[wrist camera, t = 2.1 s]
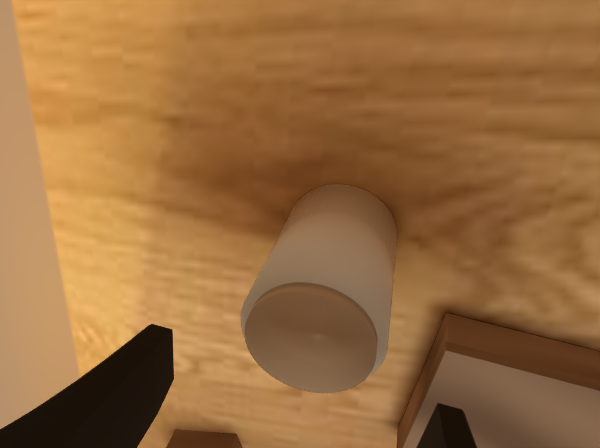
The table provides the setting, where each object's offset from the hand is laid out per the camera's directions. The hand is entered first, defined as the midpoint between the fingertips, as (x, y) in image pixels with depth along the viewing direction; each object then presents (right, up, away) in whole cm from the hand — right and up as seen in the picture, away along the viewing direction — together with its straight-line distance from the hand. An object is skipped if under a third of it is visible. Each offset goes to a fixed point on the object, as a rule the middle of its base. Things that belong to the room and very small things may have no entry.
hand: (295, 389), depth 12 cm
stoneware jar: (+2, +4, +7) cm, 8 cm away
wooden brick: (+12, -4, +9) cm, 15 cm away
